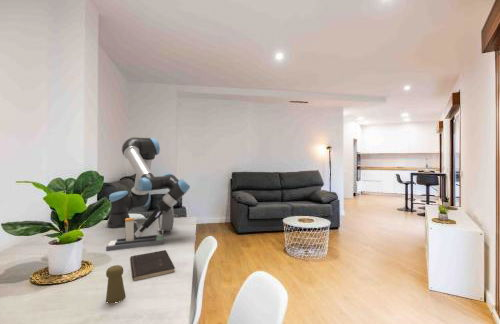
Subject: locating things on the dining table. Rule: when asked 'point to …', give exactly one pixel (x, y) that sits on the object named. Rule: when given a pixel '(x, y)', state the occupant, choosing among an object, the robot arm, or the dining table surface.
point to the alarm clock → (166, 220)
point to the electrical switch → (134, 227)
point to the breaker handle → (129, 229)
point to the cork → (115, 284)
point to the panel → (135, 242)
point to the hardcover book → (151, 265)
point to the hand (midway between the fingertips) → (136, 235)
